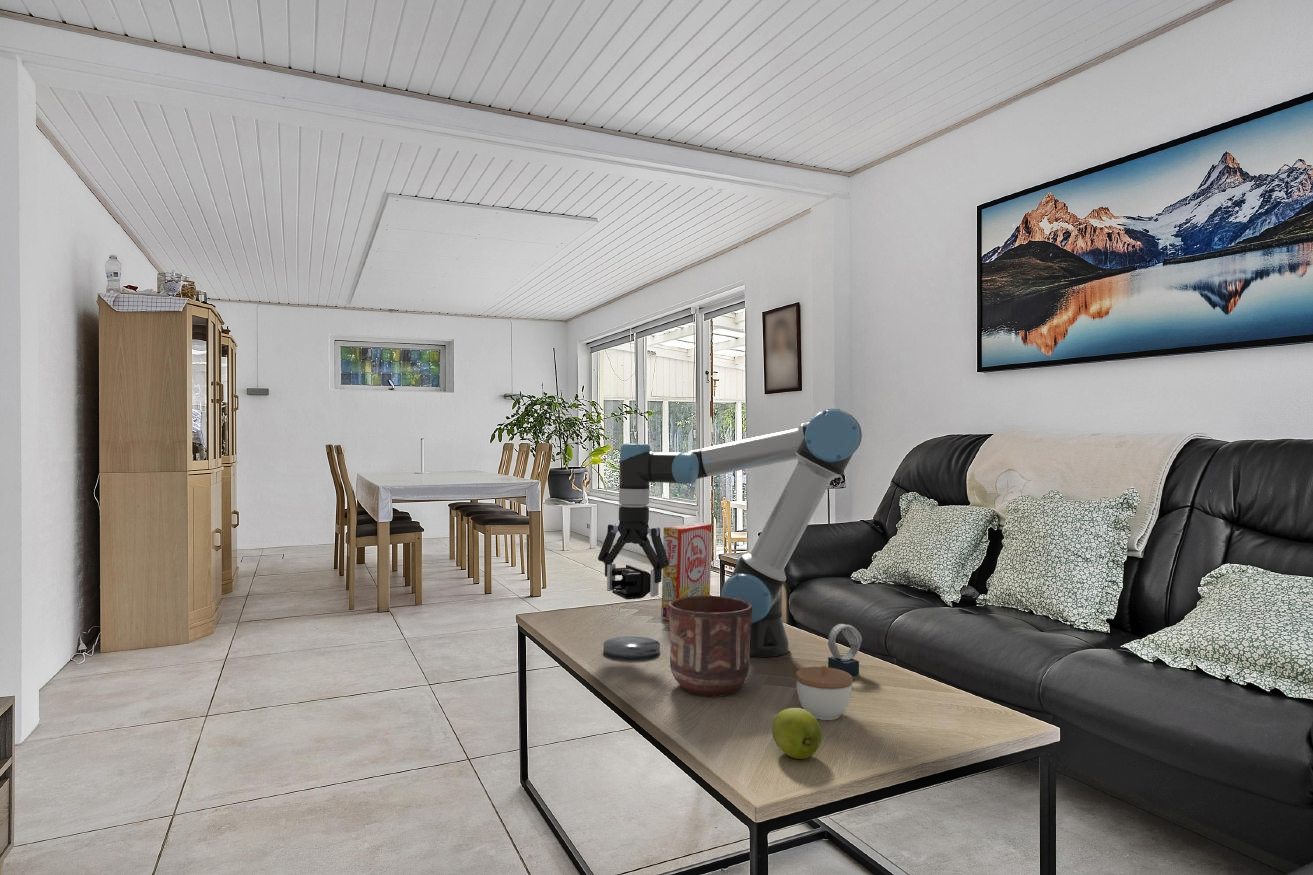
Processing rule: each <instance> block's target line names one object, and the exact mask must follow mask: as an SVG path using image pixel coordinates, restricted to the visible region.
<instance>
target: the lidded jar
mask: <svg viewBox="0 0 1313 875" xmlns="http://www.w3.org/2000/svg"><path fill="white" fill-rule="evenodd" d="M795 678H796V694H797V698H798V701H799V703H800V705H801V707H802V709H805V710H807V711H808V712H810V713H811V714H812V715H813V716H814V717H815V718H816V720H820V721H821V720H822V721H833V720H837V719H839V718H840V716H841V715H842V714H843V713H844V712H845V711H846V710H847V708H848V707H849V705H850V701H851V698H852V689H853V685H852V684H853V676H851V675H850V674H849V673H847V672H845V671H842V670H839V669H835V668H828V665H821V666H810V667H804V668H800V669H798V670H797V671H796V674H795Z"/></svg>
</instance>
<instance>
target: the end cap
mask: <svg viewBox="0 0 1313 875" xmlns="http://www.w3.org/2000/svg"><path fill="white" fill-rule="evenodd" d="M612 576H615V577H616V576H621V579H615V580H613V581H612V588H613V589H615V590H611V592H612V594H613V595H616V596H617V597H621V598H623V599H624V600H638V599H639V600H640V599H643V598H645V597H646V596H648V594H650V585H651V572H650V573H649V572H648V571H646V570H643V569H642V568H638V567H636V566H632V565H630V564H625V567H616V568H614V569H612Z"/></svg>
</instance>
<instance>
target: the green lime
mask: <svg viewBox="0 0 1313 875" xmlns="http://www.w3.org/2000/svg"><path fill="white" fill-rule="evenodd" d="M771 732H772V738H773V740H774V742H775V743H776V746H777V747H778V748H779V749H780V751H782V752H783V753H784V754H786V755H787V756H788V757H791V758H793V759H796V760H803V759H807V758H809V757H811V756H812V755H814V754H815V753H816V752H817V751H818V749H819V748H820V745H821V742H822V738H823V737H822V736H823V735H822V730H821V727H820V724H819V722H818V719H816V718H815V717H814V716H813V715H812V714H811V713H810V712H808V711H807V710H805V709H804V708H800V707H788V708H785V709H782V710H781V711H779V712H778V713H777V714H776V715H775V716H774V718H773V720H772V724H771Z"/></svg>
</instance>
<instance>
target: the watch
mask: <svg viewBox="0 0 1313 875" xmlns="http://www.w3.org/2000/svg"><path fill="white" fill-rule="evenodd" d="M841 630H842V631H841ZM840 632H841V633H842V634H843V636H844V638H845V639H846V640H847V641H848V644H849V645H850V648H849V650H848V651H847V653H846V654H841V653H840V651H839V649H838V645H837V643H836V638H837V635H838V634H839V633H840ZM862 641H863V637H862V635H861V633H860V632H859V630H857V628H856V627H854V626H853V625H851V624H845V623H838V624H836V625H834V626H833V627H832V628H831V630H830V632H829V633H828V642H827V645H828V649H829V652H830V653H831V655H832V656H828V657H827V667H828V668H835V669H839V670H842V671H845V672H847V673H849V674H850V675H851V676H852V677H854V676H859V675H860V661H859V660H857V659H855V657H856V656H857V654H858V652H859V650H860V648H861V644H862Z"/></svg>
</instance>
